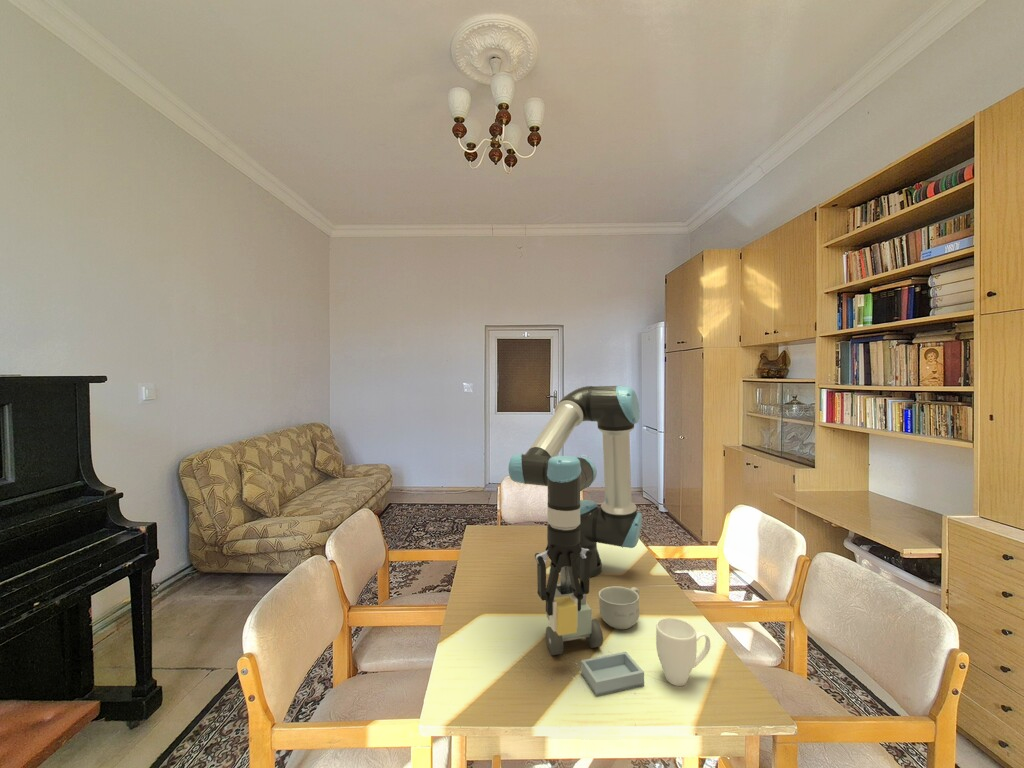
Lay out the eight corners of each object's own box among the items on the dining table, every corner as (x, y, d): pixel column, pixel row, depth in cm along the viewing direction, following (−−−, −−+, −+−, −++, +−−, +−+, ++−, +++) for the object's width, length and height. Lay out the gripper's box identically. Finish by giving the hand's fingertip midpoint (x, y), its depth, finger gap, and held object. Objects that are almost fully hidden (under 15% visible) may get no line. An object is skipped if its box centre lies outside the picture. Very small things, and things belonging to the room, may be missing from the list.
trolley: (582, 626, 116) (582, 579, 116) (602, 651, 105) (603, 600, 105) (538, 633, 113) (538, 585, 113) (554, 661, 102) (554, 608, 102)
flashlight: (570, 594, 113) (570, 545, 113) (576, 601, 110) (576, 550, 109) (556, 596, 112) (556, 546, 112) (562, 603, 108) (562, 552, 108)
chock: (568, 621, 102) (568, 595, 102) (576, 632, 97) (576, 605, 97) (550, 624, 101) (550, 598, 101) (558, 635, 96) (558, 608, 96)
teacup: (616, 638, 111) (616, 607, 110) (590, 618, 120) (590, 589, 120) (656, 624, 117) (656, 595, 117) (628, 606, 127) (628, 579, 127)
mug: (667, 694, 91) (667, 640, 91) (649, 668, 99) (649, 618, 99) (720, 689, 92) (720, 636, 92) (698, 664, 101) (699, 615, 101)
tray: (625, 664, 101) (625, 651, 101) (644, 685, 93) (644, 672, 93) (581, 673, 97) (581, 660, 97) (596, 696, 90) (596, 682, 90)
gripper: (590, 516, 105) (590, 612, 105) (522, 522, 100) (522, 623, 100) (605, 526, 98) (605, 629, 98) (533, 533, 93) (532, 641, 93)
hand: (563, 626), depth 99 cm, fingers closed on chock, 4 cm apart
